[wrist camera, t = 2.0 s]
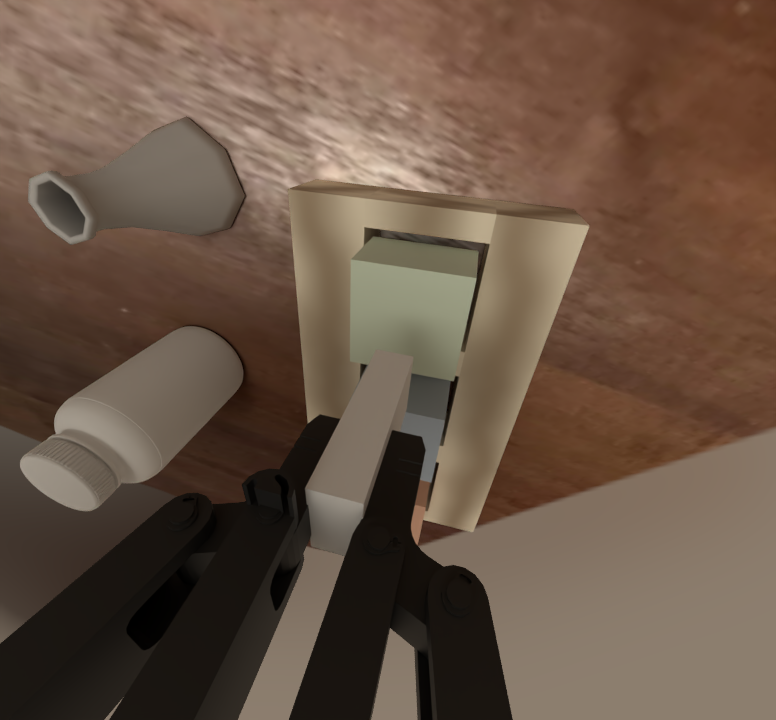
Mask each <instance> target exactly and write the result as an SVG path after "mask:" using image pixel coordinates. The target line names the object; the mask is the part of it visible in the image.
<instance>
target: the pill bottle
mask: <svg viewBox="0 0 776 720" xmlns="http://www.w3.org/2000/svg"><path fill="white" fill-rule="evenodd" d="M242 381H243V367H242V363H241V361H240V359H239V357H238V355H237V353H236V352H235V351H234V349H233V348H232V347H231V346H230V345H229V344H228V343H227V342H226V341H225V340H224V339H223V338H221V337H220V336H219V335H217V334H215V333H214V332H212V331H210V330H207V329H205V328H201V327H196V326H186V327H182V328H179V329H177V330H175V331H173V332H171V333H169V334H168V335H166V336H165V337H163V338H162V339H160V340H159V341H157V342H155V343H154V344H152V345H151V346H149V347H148V348H146V349H145V350H143V351H142V352H140V353H138V354H137V355H135V356H134V357H132V358H131V359H129V360H128V361H126V362H125V363H123V364H122V365H120V366H118V367H117V368H115V369H114V370H112V371H111V372H109V373H108V374H106V375H105V376H103V377H101V378H100V379H98V380H97V381H95V382H94V383H92V384H91V385H89V386H88V387H86V388H84V389H83V390H81V391H80V392H78V393H77V394H75V395H74V396H72V397H71V398H69V399H68V400H67V401H65V402H64V404H63V405H62V406H61V407H60V408H59V410H58V411H57V413H56V415H55V419H54V428H55V432H56V434H55V435H52V436H50V437H49V438H48V439H47V440H46V441H44V442H42V443H41V444H39V445H38V446H36V447H35V448H34V449H32V450H31V451H29V452H28V453H27V454H25V455H24V456H23V457H22V459H21V461H20V467H21V470H22V472H23V473H24V475H25V476H26V477H27V479H28V480H29V481H30V482H31V483H32V484H33V485H34V486H35V487H36V488H38V489H39V490H40V491H41V492H43V493H44V494H45V495H47V496H48V497H50V498H51V499H54V500H55V501H57V502H59V503H61V504H63V505H65V506H67V507H70V508H73V509H76V510H81V511H91V510H94V509H96V508H98V507H99V506H100V505H101V504H102V503H103V502H104V501H105V500H106V499H107V498H108V497H109V496H110V495H111V494H112V493H113V492H114V491H115V489H117V488H118V487H119V486H120V484H121V483H138V482H142V481H145V480H148V479H150V478H151V477H153V476H154V475H156V474H158V473H159V472H160V471H161V470H162V469H163V468H164V467H165V466H166V465H167V464H168V463H169V462H170V461H171V460H172V459H173V458H174V456H175V455H176V454H177V453H178V452H179V451H180V450H181V449H182V448H183V447H184V446H185V445H186V444H187V443H188V442H189V441H190V440H191V439H192V438H193V437H194V436H195V434H196V433H197V432H198V431H199V430H200V429H201V428H202V427H203V426H204V425H205V424H206V423H207V422H208V421H209V420H210V419H211V418H212V417H213V416H214V415H215V413H216V412H217V411H218V410H219V409H220V408H221V407H222V406H223V405H224V404H225V403H226V402H227V401H228V400H229V399H230V398H231V397H232V396H233V395H234V394H235V393H236V391H237V390H238V389H239V387H240V385H241V383H242Z"/></svg>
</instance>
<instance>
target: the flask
mask: <svg viewBox="0 0 776 720" xmlns="http://www.w3.org/2000/svg"><path fill="white" fill-rule="evenodd" d="M244 197H245V195H244V193H243V191H242V188H241V186H240V183H239V181H238V179H237V176H236V174H235V172H234V169H233V167H232V164H231V162H230V160H229V157H228V155H227V153H226V150H225V149H224V148H223V147H222V146H220V145H219V144H218V143H217V142H216V141H215V140H213V139H212V138H211V137H210V136H209V135H208V134H206V133H205V132H204V131H203V130H202V129H201V128H199V127H198V126H197V125H196V124H195V123H194V122H192V121H191V120H190V119H189V118H188V117H184V118H182V119H180V120H177V121H175V122H172V123H170V124H167V125H165V126H163V127H160V128H158V129H155V130H153V131H152V132H151V133H149V134H148V135H146V136H145V137H144V138H143V139H141V140H140V141H139V142H138V143H136V144H135V145H134V146H133V147H131V148H130V149H129V150H128V151H126V152H125V153H123V154H122V155H120V156H119V157H118V158H116V159H115V160H113V161H112V162H110V163H109V164H107V165H106V166H104V167H103V168H101V169H99V170H96V171H93V172H91V173H87V174H81V175H74V176H63V175H61V174H60V173H58V172H56V171H48V172H44V173H42V174H40V175H37V176H35V177H32V178H30V179H29V193H28V202H29V203H30V204H31V206H32V207H33V209H34V210H35V212H36V213H37V214H38V216H39V217H40V219H41V220H42V221H43V223H44V224H45V226H46V227H47V228H48V229H50V230H51V231H52V232H54V233H55V234H56V235H58V236H59V237H61V238H62V239H63V240H65V241H66V242H68V243H69V244H70V245H72V244H76V243H79V242H83V241H86V240H89V239H92V238H94V237H95V235H96V231H99V230H103V229H113V228H127V227H135V228H144V229H153V230H162V231H170V232H176V233H182V234H188V235H196V236H202V235H206V234H210V233H214V232H218V231H221V230H225V229H229V228H230V227H231V225H232V223H233V221H234V219H235V217H236V214H237V212H238V210H239V208H240V206H241V203H242V201H243V199H244Z"/></svg>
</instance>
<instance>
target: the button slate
mask: <svg viewBox="0 0 776 720" xmlns="http://www.w3.org/2000/svg"><path fill="white" fill-rule="evenodd" d="M367 367H368V365H367V366H366V368H367ZM366 368H365V370H366ZM365 370H364V372H365ZM364 372H363V374H364ZM363 374H362V376H363ZM362 376H361V378H362ZM361 378H360V380H361ZM360 380H359V382H360ZM359 382H358V384H359ZM450 382H451V381H449V380H444V379H439V378H434V377H428V376H423V375H418V374H413V373H411V380H410V388H409V395H408V403H407V409H406V413H405V416H404V419H403V423H402V426H401V429H400V432H403V433H408V434H412V435H417V436H421V437H422V439H423V442H424V446H425V449H426V452H425V457H424V462H423V467H422V473H421V478H420V480H423V481H427V482H432V477H433V473H434V468H435V464H436V459H437V455H438V450H439V446H440V441H441V437H442V432H443V428H444V423H445V418H446V411H447V404H448V397H449V389H450ZM358 384H357V386H358ZM357 386H356V388H357ZM356 388H355V390H356ZM355 390H354V392H355ZM354 392H353V394H354ZM352 396H353V395H352ZM351 398H352V397H351ZM350 400H351V399H350Z"/></svg>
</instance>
